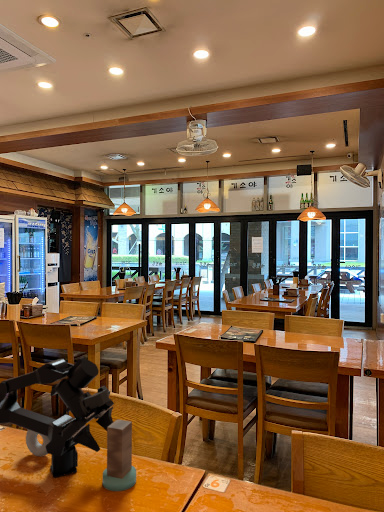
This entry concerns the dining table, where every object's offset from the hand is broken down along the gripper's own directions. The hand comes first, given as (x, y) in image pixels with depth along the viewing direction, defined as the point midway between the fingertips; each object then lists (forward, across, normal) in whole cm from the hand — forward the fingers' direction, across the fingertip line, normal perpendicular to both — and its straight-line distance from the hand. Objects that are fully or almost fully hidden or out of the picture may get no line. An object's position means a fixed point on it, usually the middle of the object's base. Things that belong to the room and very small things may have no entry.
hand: (107, 442), depth 107 cm
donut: (-11, +5, +26) cm, 29 cm away
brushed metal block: (+8, 0, +2) cm, 8 cm away
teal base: (+10, 0, +4) cm, 11 cm away
